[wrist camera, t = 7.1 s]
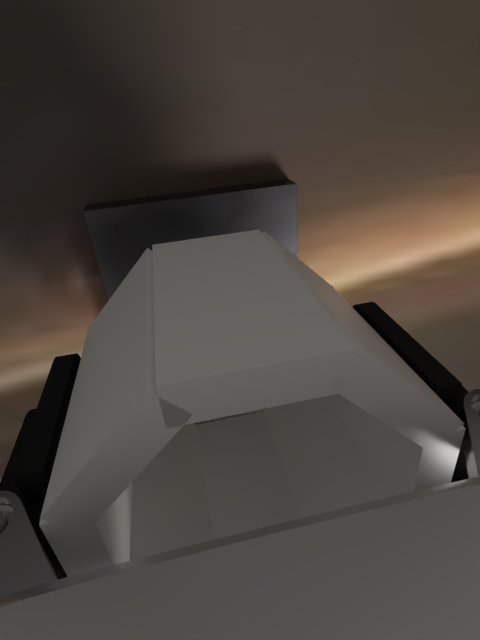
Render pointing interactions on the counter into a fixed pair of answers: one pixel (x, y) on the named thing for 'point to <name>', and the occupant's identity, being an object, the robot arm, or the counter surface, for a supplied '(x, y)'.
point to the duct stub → (187, 222)
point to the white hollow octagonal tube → (232, 407)
